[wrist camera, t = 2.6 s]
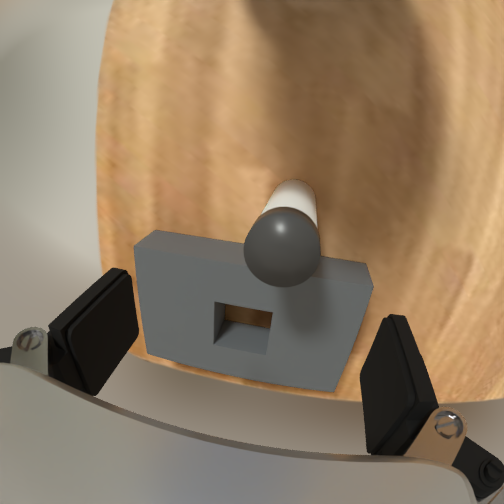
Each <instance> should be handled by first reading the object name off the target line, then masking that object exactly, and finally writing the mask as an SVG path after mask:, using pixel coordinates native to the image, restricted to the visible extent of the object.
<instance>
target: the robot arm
mask: <svg viewBox="0 0 504 504" xmlns="http://www.w3.org/2000/svg"><path fill="white" fill-rule="evenodd" d="M48 327H49V329H50V331H49V332H48V333H46V331H45V330H43V329H42V328H38V327H30V328H27V329H24V330H22V331H21V332H19V333H18V334H17V335H16V337H15V338H14V341H13V345H12V347H7V348H2V349H0V504H504V465H503V464H502V462H501V461H500V460H499V459H498V458H496V457H495V456H494V455H492V454H491V453H489V452H488V451H486V450H485V449H483V448H482V447H481V446H479V445H477V444H476V443H475V442H473V441H472V440H470V439H469V438H467V437H466V433H467V423H466V421H465V419H464V417H463V416H462V415H461V414H460V413H459V412H458V411H457V410H455V409H453V408H449V407H440V408H439V406H438V402H437V399H436V396H435V393H434V390H433V387H432V384H431V381H430V378H429V375H428V372H427V369H426V366H425V363H424V361H423V358H422V356H421V354H420V352H419V350H418V347H417V344H416V342H415V339H414V337H413V334H412V331H411V329H410V326H409V324H408V321H407V319H406V317H405V316H403V315H394V314H390V315H389V316H388V317H387V318H383V320H382V322H381V325H380V327H379V330H378V332H377V335H376V337H375V340H374V342H373V344H372V347H371V349H370V351H369V354H368V356H367V358H366V361H365V363H364V365H363V367H362V370H361V373H360V385H361V393H362V402H363V411H364V422H365V434H366V447H367V452H368V453H371V455H347V454H331V453H317V452H305V451H295V450H288V449H280V448H273V447H266V446H260V445H254V444H248V443H243V442H237V441H233V440H228V439H223V438H219V437H215V436H210V435H206V434H202V433H198V432H195V431H190V430H187V429H184V428H180V427H177V426H173V425H170V424H166V423H163V422H160V421H157V420H154V419H151V418H148V417H145V416H142V415H139V414H136V413H134V412H131V411H128V410H125V409H123V408H120V407H118V406H115V405H112V404H110V403H108V402H105V401H103V400H100V399H98V398H96V397H93V396H96V395H97V394H98V393H99V391H100V390H101V389H102V387H103V386H104V384H105V383H106V381H107V380H108V378H109V377H110V375H111V374H112V373H113V371H114V370H115V368H116V367H117V365H118V364H119V363H120V361H121V360H122V358H123V357H124V356H125V354H126V353H127V351H128V350H129V349H130V347H131V346H132V344H133V343H134V342H135V340H136V339H137V337H138V334H139V327H138V321H137V315H136V308H135V301H134V293H133V286H132V278H131V276H130V275H128V272H127V271H126V270H123V269H118V268H111V269H110V270H109V271H108V272H107V273H105V274H104V275H103V276H102V277H101V278H100V279H99V280H97V281H96V282H95V283H94V284H93V285H92V286H91V287H89V289H87V290H86V291H85V292H84V293H83V294H82V295H81V296H79V297H78V298H77V299H76V300H75V301H74V302H73V303H72V304H71V305H70V306H69V307H67V308H66V309H65V310H64V311H63V312H62V313H61V314H60V315H59V316H58V317H57V318H56V319H55V320H54V321H52V323H50V324H49V325H48Z"/></svg>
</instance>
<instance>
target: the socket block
mask: <svg viewBox="0 0 504 504" xmlns="http://www.w3.org/2000/svg"><path fill="white" fill-rule="evenodd" d="M134 256H135V267H136V277H137V286H138V295H139V303H140V310H141V317H142V324H143V331H144V337H145V343H146V349H147V354H150V355H153V356H157V357H160V358H164V359H167V360H171V361H174V362H178V363H181V364H185V365H189V366H193V367H197V368H201V369H205V370H209V371H213V372H217V373H222V374H226V375H231V376H235V377H240V378H245V379H250V380H255V381H260V382H266V383H272V384H277V385H284V386H290V387H297V388H303V389H311V390H319V391H327V392H334V391H335V389H336V386H337V384H338V382H339V379H340V377H341V375H342V372H343V370H344V367H345V365H346V362H347V360H348V357H349V355H350V352H351V350H352V347H353V345H354V342H355V339H356V337H357V334H358V331H359V328H360V326H361V323H362V320H363V317H364V314H365V311H366V308H367V305H368V302H369V299H370V296H371V293H372V290H373V287H374V286H373V283H372V280H371V277H370V274H369V271H368V268H367V265H366V263H360V262H354V261H348V260H341V259H335V258H329V257H323V256H320V261H319V264H318V267H317V269H316V271H315V272H314V273H313V275H312V276H311V277H310V278H309V279H308V280H306V281H305V282H303V283H301V284H299V285H296V286H292V287H275V286H271V285H268V284H266V283H264V282H262V281H260V280H259V279H258V278H256V277H255V276H254V275H253V274H252V272H251V271H250V270H249V268H248V266H247V264H246V262H245V258H244V244H242V243H236V242H230V241H223V240H217V239H210V238H204V237H198V236H191V235H185V234H178V233H172V232H165V231H159V230H154V231H153V232H152V233H150V234H149V235H148V236H146V237H145V238H144V239H142V240H141V241H140V242H138V243H137V244H136V245H134ZM225 304H230V305H235V306H240V307H246V308H251V309H257V310H262V311H268V312H273V315H272V321H271V327H270V328H265V327H260V326H254V325H249V324H244V323H239V322H234V321H229V320H225Z"/></svg>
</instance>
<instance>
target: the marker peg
mask: <svg viewBox="0 0 504 504" xmlns="http://www.w3.org/2000/svg"><path fill="white" fill-rule="evenodd" d="M244 258H245V262H246V264H247V266H248V268H249V270H250V271H251V272H252V274H253V275H254V276H255V277H256V278H258V279H259V280H260V281H262V282H264V283H266V284H268V285H271V286H275V287H292V286H296V285H299V284H301V283H303V282H305V281H306V280H308V279H309V278H310V277H311V276H312V275H313V273H314V272H315V271H316V269H317V267H318V264H319V261H320V237H319V232H318V229H317V212H316V198H315V194H314V192H313V190H312V188H311V187H310V186H309V185H308V184H307V183H305V182H303V181H301V180H297V179H290V180H286V181H284V182H282V183H280V184H279V185H278V186H277V187H276V189H275V190H274V192H273V194H272V196H271V197H270V199H269V201H268V203H267V205H266V206H265V208H264V210H263V212H262V214H261V215H260V216H259V217H258V219H257V220H256V221H255V223H254V224H253V226H252V228H251V230H250V231H249V233H248V235H247V237H246V239H245V243H244Z"/></svg>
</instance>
